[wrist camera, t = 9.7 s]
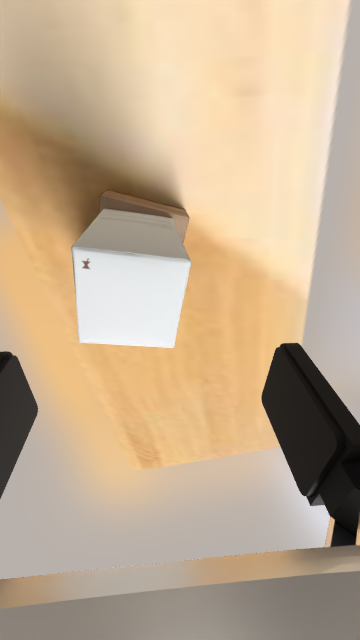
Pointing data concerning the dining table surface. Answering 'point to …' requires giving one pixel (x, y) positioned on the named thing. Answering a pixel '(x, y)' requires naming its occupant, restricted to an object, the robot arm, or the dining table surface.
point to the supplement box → (130, 279)
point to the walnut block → (144, 208)
